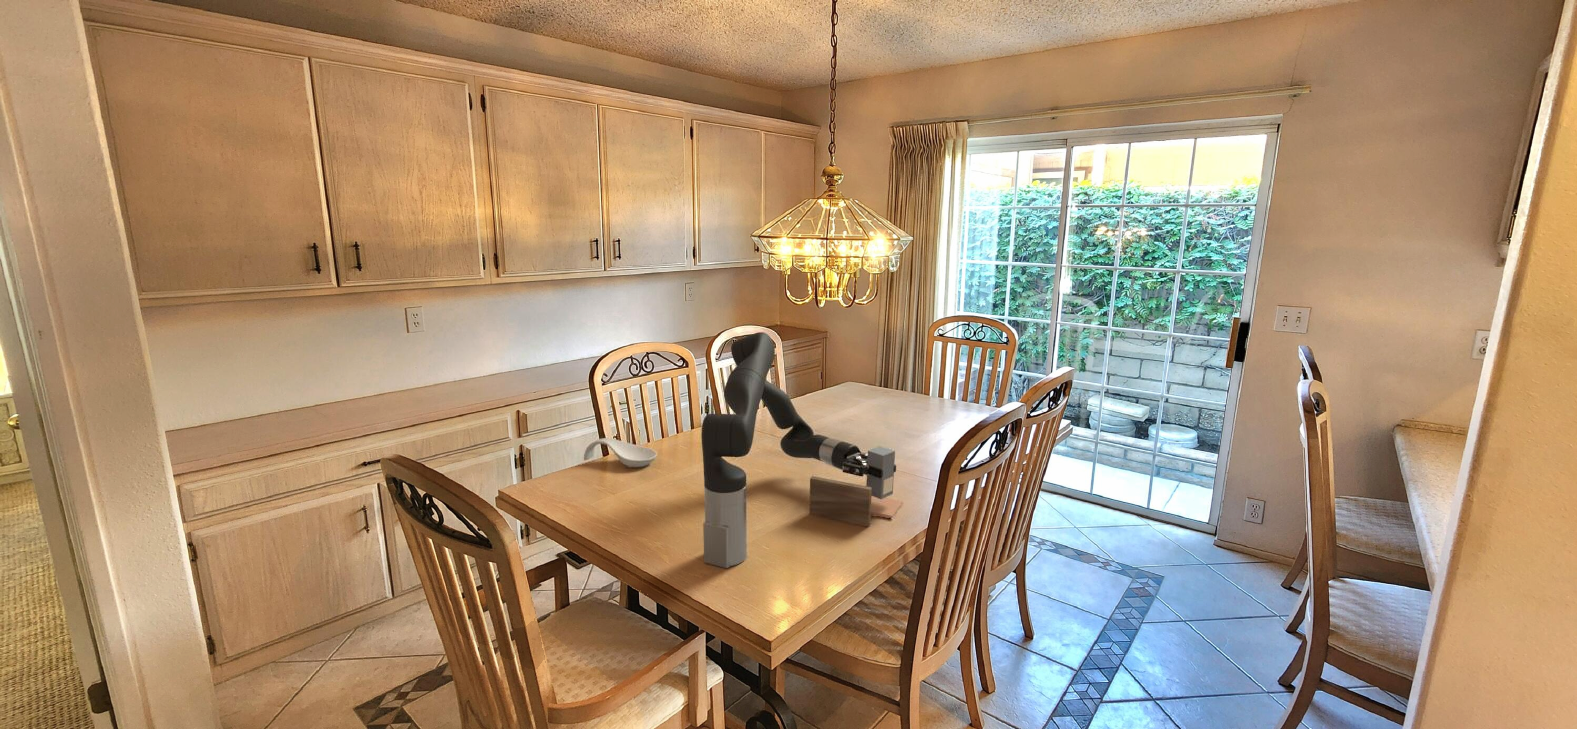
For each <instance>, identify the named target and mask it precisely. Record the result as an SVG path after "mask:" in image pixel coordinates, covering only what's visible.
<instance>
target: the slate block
mask: <svg viewBox="0 0 1577 729" xmlns="http://www.w3.org/2000/svg"><path fill="white" fill-rule="evenodd" d="M867 453H868V459H867V464H868V465H870V467H871V466H872V467H875V468H878V469H881V470H883V477H882V478H877V477H874V476H872V475H866V483H865V485H866V486H867V487H872V495H871V496H874V497H876V498H879V499H883V498H888V497H890V496H892V495H893V494H894V479H895V477H894V476H895V472H894V464H895V461H896V460H895V457H896V451H895V450H892V449H890V448H887V447H883V446H880V445H879V446H877V447H876V446H875V447H873V448H871V449H868V450H867Z"/></svg>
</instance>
